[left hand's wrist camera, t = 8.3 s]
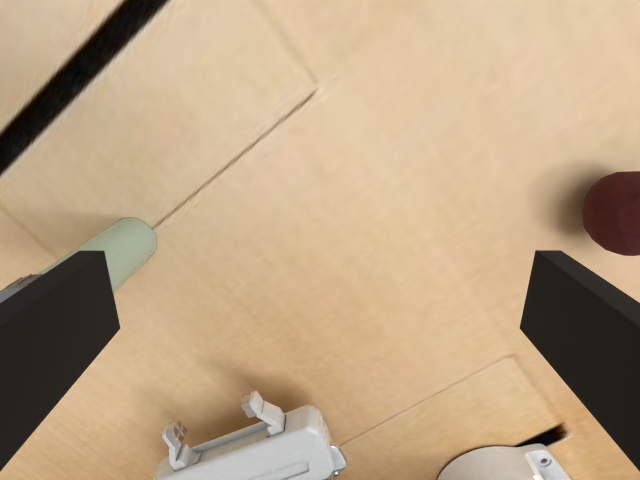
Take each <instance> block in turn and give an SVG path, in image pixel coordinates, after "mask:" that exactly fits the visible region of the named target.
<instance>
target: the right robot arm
mask: <svg viewBox="0 0 640 480" xmlns="http://www.w3.org/2000/svg"><path fill="white" fill-rule="evenodd" d="M242 399H243V400H242V401H241V407H242V409H243V411H245V412H246V413H245V414H246V415H247V417H248V418H251V417H254V416H256V417H258V418H259V419H261V420H263V421H262V422H259V423H256V424H254V425H251V426H248V427H245V428H243V429H240V430H237V431H235V432H232V433H229V434H227V435H224V436H221V437H218V438H216V439H213V440H210V441H208V442H205V443H202V444H200V445H197V446H194V447H191V448H190V447H189V446H188V444H183V446H182V441H183V436H184V435H185V433H186V431H187V430H186V429H185V427H184V426H183V425H181V422H180V421H176V422H173V423H170V424H168V425H166V426H165V428H164V430H163V432H162V438H163V440H164V441H165V442H166V444H167V445H168V446H169V456H167V457H165V458H163V459H162V461H161V462H160V464H159V467H158V469H157V471H156V473H155V476H154V478H153V480H331V479H334V478H336V477H338V476H339V475H340V472H341V471H342V470H344V468H345V467H346V464H347V460H346V457H345V455H344V454H343V452H342V450H341V449H340V447H339V446H337V445H336V444H333V443H332V439H331V435H330V432H329V430H328V427H327V424H326V422H325V420H324V418H323V416H322V414H321V412H320V410H319V409H318V408H316V407H313V406H311V405H305V406H302V407H299V408H297V409H294V410H291V411H289V412H286V413H283V412H282V410H281V409H280V408H279V407H277V406H275V405H273V404H271V403H268V402H266V401H263V400H262V398H261V397H260V395H259V393H258V392H257V391H253V392H251V393H249V394H246V395H243V397H242ZM437 480H572V479H571V477H570V476H569V475H568V474H567V472H566V471H565V470H564V469H563V467H562V466H561V465H560V464H559V462H558V461H557V460H556V459H555V457H554V456H553V455H552V454H551V452H550V451H549V450H548V449H547V447H546V446H545V445H543V444H531V445H526V446H522V447H504V446H493V447H485V448H480V449H476V450H473V451H470V452H468V453H465V454H463V455H461V456H460V457H458V458H456V459H455V460H453V461H452V462H451V463H450V464H448V465H447V466H446V467H445V469H444V470H443V471H442V472H441V474H440V475H439V477H438V479H437Z"/></svg>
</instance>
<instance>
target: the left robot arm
mask: <svg viewBox="0 0 640 480" xmlns="http://www.w3.org/2000/svg"><path fill="white" fill-rule="evenodd" d="M119 329H120V324H119V320H118V315H117V310H116V305H115V300H114V295H113V290H112V285H111V281H110V276H109V271H108V266H107V261H106V256H105V251H78V252H76V253H75V254H73V255H72V256H70V257H69V258H67V259H66V260H64V261H63V262H61V263H60V264H58V265H57V266H55V267H54V268H52V269H51V270H49V271H48V272H46V273H45V274H43V275H42V276H40V277H39V278H37V279H36V280H34V281H33V282H31V283H30V284H28V285H27V286H25V287H24V288H22V289H21V290H19V291H18V292H16V293H15V294H13V295H12V296H10V297H9V298H7V299H6V300H4V301H3V302H1V303H0V471H1V470H2V469H3V467H4V466H5V465H6V464H7V463H8V462H9V460H10V459H11V458H12V457H13V456H14V454H15V453H16V452H17V451H18V450H19V448H20V447H21V446H22V445H23V444H24V442H25V441H26V440H27V439H28V438H29V436H30V435H31V434H32V433H33V432H34V431H35V429H36V428H37V427H38V426H39V425H40V423H41V422H42V421H43V420H44V419H45V417H46V416H47V415H48V414H49V413H50V411H51V410H52V409H53V408H54V407H55V406H56V404H57V403H58V402H59V401H60V400H61V398H62V397H63V396H64V395H65V394H66V392H67V391H68V390H69V389H70V388H71V386H72V385H73V384H74V383H75V382H76V380H77V379H78V378H79V377H80V376H81V375H82V373H83V372H84V371H85V370H86V369H87V367H88V366H89V365H90V364H91V363H92V361H93V360H94V359H95V358H96V357H97V355H98V354H99V353H100V352H101V351H102V350H103V348H104V347H105V346H106V345H107V344H108V342H109V341H110V340H111V339H112V338H113V336H114V335H115V334H116V333H117V332H118V330H119ZM520 329H521V330H522V332H523V333H524V334H525V335H526V336H527V338H528V339H529V340H530V341H531V342H532V344H533V345H534V346H535V347H536V348H537V350H538V351H539V352H540V353H541V354H542V355H543V357H544V358H545V359H546V360H547V361H548V363H549V364H550V365H551V366H552V367H553V369H554V370H555V371H556V372H557V373H558V375H559V376H560V377H561V378H562V379H563V380H564V382H565V383H566V384H567V385H568V386H569V388H570V389H571V390H572V391H573V392H574V394H575V395H576V396H577V397H578V398H579V400H580V401H581V402H582V403H583V404H584V406H585V407H586V408H587V409H588V410H589V411H590V413H591V414H592V415H593V416H594V417H595V419H596V420H597V421H598V422H599V423H600V425H601V426H602V427H603V428H604V429H605V431H606V432H607V433H608V434H609V435H610V436H611V438H612V439H613V440H614V441H615V442H616V444H617V445H618V446H619V447H620V448H621V450H622V451H623V452H624V453H625V454H626V456H627V457H628V458H629V459H630V460H631V462H632V463H633V464H634V465H635V466H636V467H637V469H638V470H639V471H640V303H639V302H637V301H636V300H634V299H633V298H631V297H630V296H628V295H627V294H625V293H624V292H622V291H621V290H619V289H618V288H616V287H615V286H613V285H612V284H610V283H609V282H607V281H606V280H604V279H603V278H601V277H600V276H598V275H597V274H595V273H594V272H592V271H591V270H589V269H588V268H586V267H585V266H583V265H582V264H580V263H579V262H577V261H576V260H574V259H573V258H571V257H570V256H568V255H567V254H565V253H564V252H562V251H535V256H534V261H533V266H532V271H531V276H530V281H529V285H528V290H527V295H526V300H525V305H524V310H523V315H522V320H521V324H520Z"/></svg>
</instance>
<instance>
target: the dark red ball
mask: <svg viewBox="0 0 640 480" xmlns="http://www.w3.org/2000/svg"><path fill="white" fill-rule="evenodd" d="M583 224H584V227H585V229H586V231H587V232H588V234H589V235H590V237H591V238H592V239H593V240H594V241H595V242H596V243H598V244H599V245H600V246H602V247H603V248H604V249H605V250H608V251H611V252H614V253H617V254H621V255H626V256H637V255H640V171H636V172H616V173H613V174H611V175H608V176H606V177H603V178H602V179H600V180H599V181H598V182H597V183H596V184H595V185H593V186H592V188H591V190H590V191H589V193H588V194H587V196H586V200H585V204H584V207H583Z"/></svg>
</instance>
